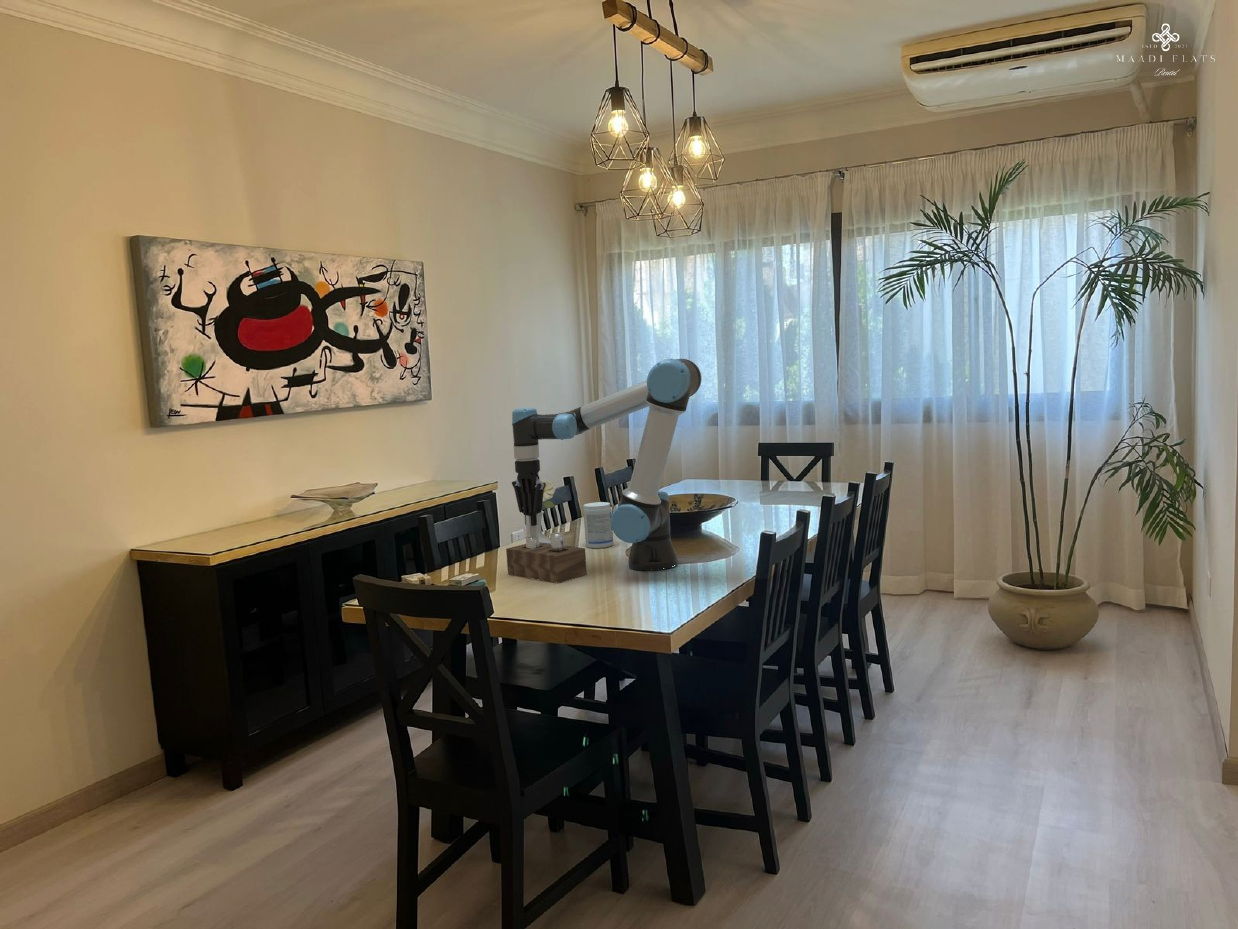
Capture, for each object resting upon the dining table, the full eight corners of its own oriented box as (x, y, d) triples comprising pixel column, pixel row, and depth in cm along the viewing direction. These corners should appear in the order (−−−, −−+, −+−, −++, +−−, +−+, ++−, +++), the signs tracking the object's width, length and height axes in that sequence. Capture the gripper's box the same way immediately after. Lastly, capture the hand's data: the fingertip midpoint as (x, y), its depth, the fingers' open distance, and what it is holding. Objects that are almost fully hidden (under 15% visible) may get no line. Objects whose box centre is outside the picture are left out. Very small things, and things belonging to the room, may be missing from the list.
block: (586, 574, 273) (585, 548, 272) (557, 583, 264) (556, 556, 264) (536, 566, 288) (535, 541, 287) (507, 574, 279) (506, 548, 278)
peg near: (567, 557, 272) (566, 533, 271) (558, 560, 269) (556, 535, 268) (558, 556, 275) (557, 532, 274) (548, 559, 272) (547, 534, 271)
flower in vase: (517, 555, 307) (511, 481, 304) (530, 548, 317) (526, 477, 315) (552, 556, 302) (548, 481, 300) (565, 548, 313) (561, 476, 310)
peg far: (543, 560, 280) (541, 536, 279) (533, 562, 277) (531, 538, 276) (534, 559, 282) (532, 535, 282) (524, 561, 279) (522, 537, 279)
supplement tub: (618, 545, 313) (616, 503, 312) (595, 550, 308) (592, 507, 307) (603, 542, 322) (601, 500, 320) (580, 546, 316) (577, 504, 315)
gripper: (550, 458, 274) (555, 535, 277) (521, 457, 283) (526, 532, 286) (532, 461, 269) (537, 540, 272) (503, 459, 278) (508, 536, 280)
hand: (531, 536), depth 279 cm, fingers closed
